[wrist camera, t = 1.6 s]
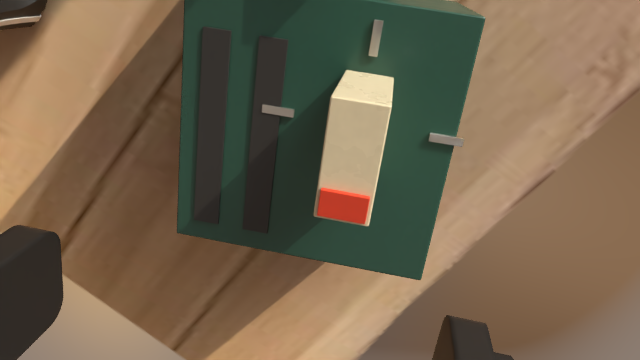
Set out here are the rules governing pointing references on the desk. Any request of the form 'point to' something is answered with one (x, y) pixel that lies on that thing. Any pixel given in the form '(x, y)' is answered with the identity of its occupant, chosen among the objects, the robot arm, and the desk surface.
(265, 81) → the toaster slots
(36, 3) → the black computer mouse
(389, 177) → the toaster
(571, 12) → the desk surface
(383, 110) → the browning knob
